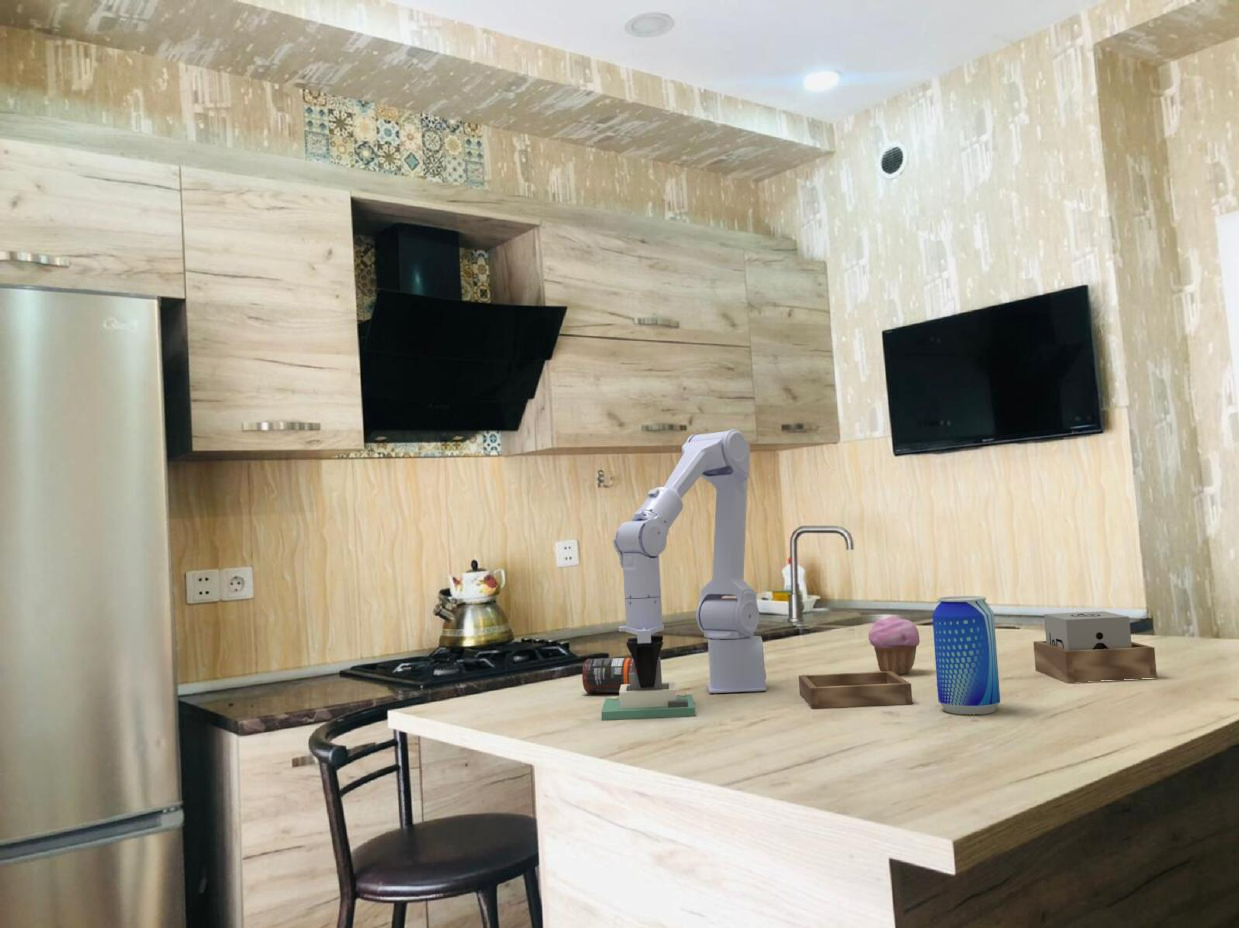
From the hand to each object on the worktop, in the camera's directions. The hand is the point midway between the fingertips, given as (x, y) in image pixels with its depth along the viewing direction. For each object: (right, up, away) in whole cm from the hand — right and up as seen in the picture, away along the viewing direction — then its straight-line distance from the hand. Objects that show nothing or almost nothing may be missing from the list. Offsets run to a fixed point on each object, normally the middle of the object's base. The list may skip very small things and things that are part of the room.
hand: (647, 685), depth 158 cm
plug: (0, -2, 0) cm, 2 cm away
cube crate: (+75, -1, +11) cm, 75 cm away
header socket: (0, -3, 0) cm, 3 cm away
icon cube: (+74, -1, +10) cm, 74 cm away
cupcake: (+45, -3, +23) cm, 51 cm away
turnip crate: (+32, -2, +1) cm, 32 cm away
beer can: (+46, -1, -13) cm, 47 cm away
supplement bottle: (-10, -3, +20) cm, 22 cm away
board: (0, -4, 0) cm, 4 cm away
